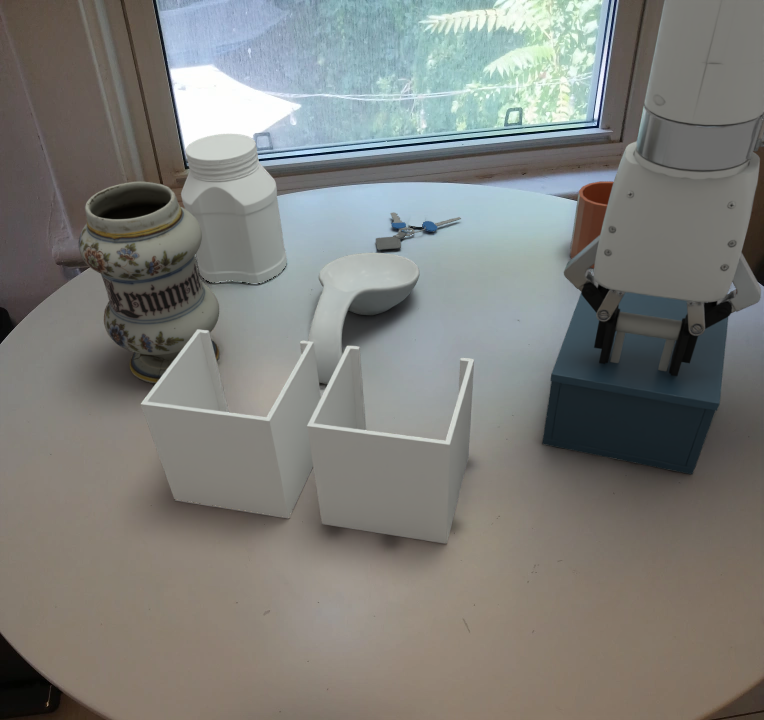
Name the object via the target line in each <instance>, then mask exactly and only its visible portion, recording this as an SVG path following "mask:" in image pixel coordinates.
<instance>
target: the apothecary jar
mask: <svg viewBox="0 0 764 720" xmlns="http://www.w3.org/2000/svg"><path fill="white" fill-rule="evenodd" d="M84 210H85V212H84V213H85V216H86V223H85V225H84V227H82V230H81V232H80V234H79V238H78V243H77V244H78V251H79V254H80V256H81V259H82V260H83V262H84V263H85V264H86V265H87V266H88V267H89V268H90V269H92V270H93V271H95V272H97V273H99V274H100V275H101V278H102V281H103V284H104V287H105V291H106V293H107V298H108V302H107V304H106V306H105V309H104V311H103V312H104V313H103V325H104V328H105V331H106V333H107V335H108V336H109V338H110V339H111V341H113V343H115V344H116V345H117V346H118V347H120V348H123V349H125V350H127V351H129V352H132V355H131V357H130V359H129V370H130V371H131V373H132V374H133V375H134V376H135V377H136V378H137V379H139V380H141V381H143V382H146V383H150V384H154V385H155V384H156V383H157V382H158V380H159V379H160V378H161V377H162V375H163V374H164V373H165V371H166V370H167V369H168V367H169V366H170V365H171V363H172V362H173V361H174V359H175V358H176V357H177V356H178V354H179V353H180V352H181V350H182V349H183V348H184V346H185V345H186V344H187V342H188V341H189V340H190V338H191V337H192V336H193V335H194V333H195V332H196V331H197V329H198V330H208V331H209V333H210V334H211V332H212V331H213V330H214V329H215V327H216V325H217V323H218V320H219V317H220V303H219V300H218V297H217V296H216V294H215V293H214V291H213V290H212V289H211V288H210V287H209V286H208V285H207V284H205V283H203V282H202V279H201V275H200V272H199V268H198V263H197V258H196V253H197V251H198V249H199V247H200V245H201V240H202V231H201V227H200V225H199V223H198V221H197V219H196V218H195V217H194V216H193V215H192V214H191V213H190V212H189V211H187V210H186V209H185V207H183V206H181V205H180V203H179V202H178V198H177V195H176V193H175V192H174V190H173V189H172V188H170V187H169V186H167V185H164V184H161V183H159V182H154V181H130V182H125V183H119V184H116V185H112V186H108V187H106V188H104V189H102V190H99V191H97V192H96V193H95V194H93V195H92V196H91V197H90V198H88V200H87V201H86V203H85V206H84ZM211 341H212V345H213V349H214V353H215V357H216V361H218V360H219V356H220V349H219V347H218V344H217V343H216V342H215V341H214V340H213V339H212V338H211Z"/></svg>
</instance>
